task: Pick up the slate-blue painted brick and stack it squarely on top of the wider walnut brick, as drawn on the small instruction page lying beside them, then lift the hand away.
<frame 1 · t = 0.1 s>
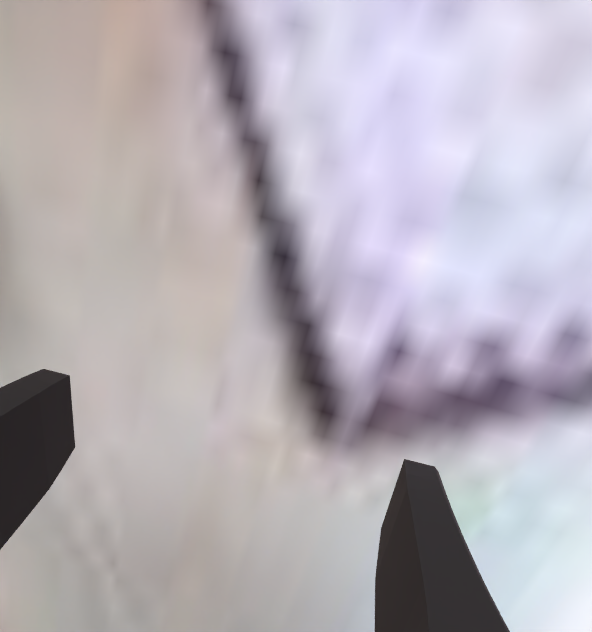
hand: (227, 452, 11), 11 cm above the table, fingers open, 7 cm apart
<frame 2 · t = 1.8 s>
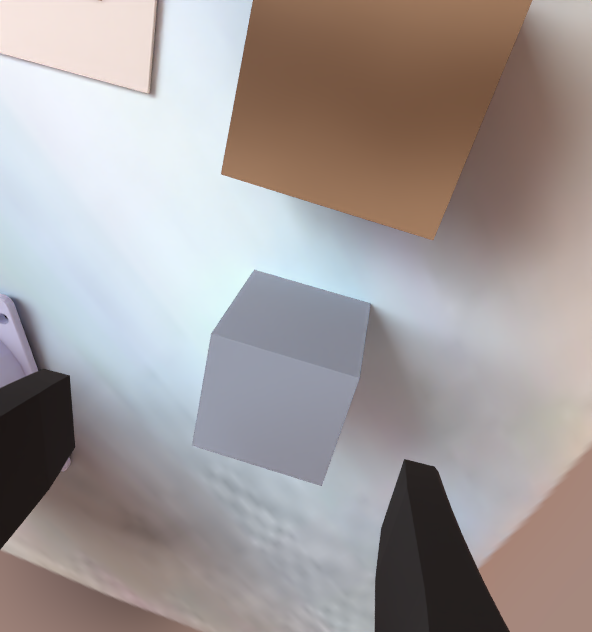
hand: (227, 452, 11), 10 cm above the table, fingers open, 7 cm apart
walnut brick: (370, 79, 16), on the table
slate brick: (298, 335, 21), on the table
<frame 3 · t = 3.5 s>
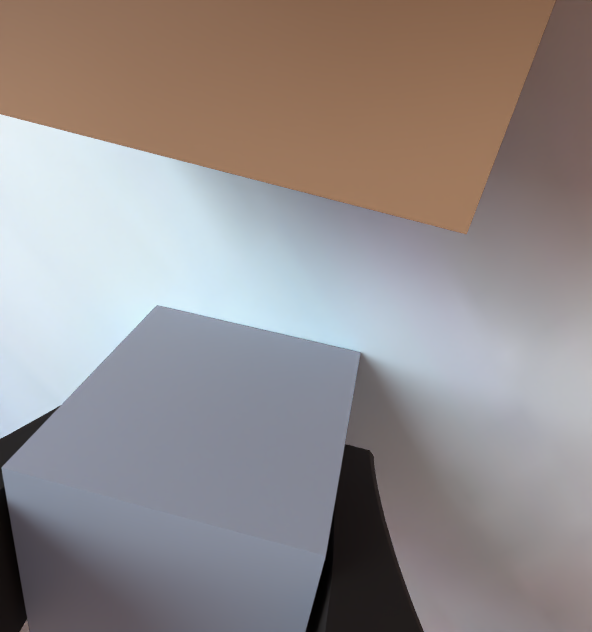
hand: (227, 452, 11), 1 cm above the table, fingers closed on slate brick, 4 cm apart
slate brick: (246, 410, 12), on the table, touching gripper
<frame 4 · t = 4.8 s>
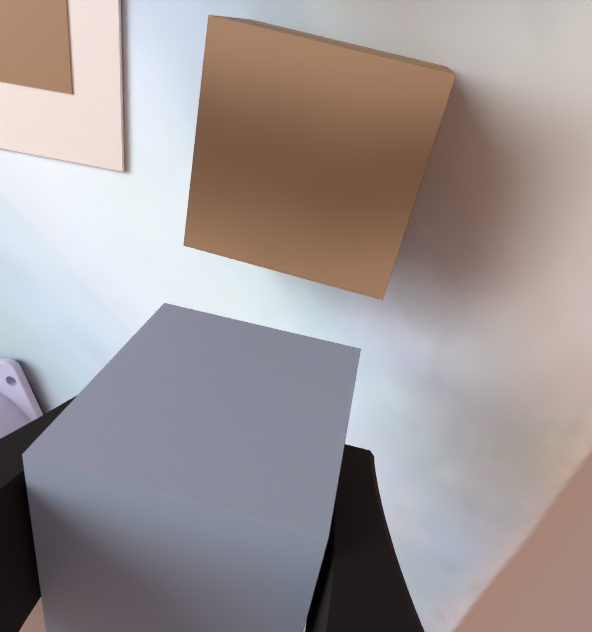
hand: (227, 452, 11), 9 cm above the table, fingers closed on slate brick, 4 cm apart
walnut brick: (325, 143, 17), on the table
slate brick: (249, 405, 13), point 8 cm above the table, touching gripper
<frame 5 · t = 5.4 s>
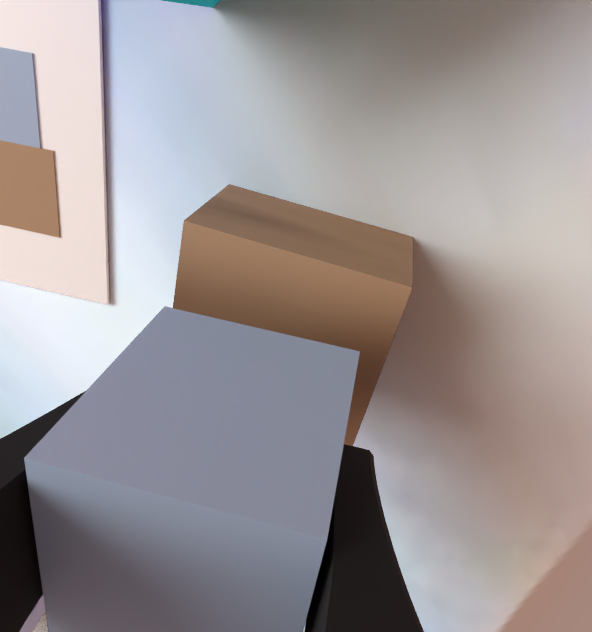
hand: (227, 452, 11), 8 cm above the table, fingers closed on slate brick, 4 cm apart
instruction page: (7, 148, 18), on the table
walnut brick: (299, 290, 18), on the table
slate brick: (250, 407, 13), point 6 cm above the table, touching gripper
when the fingers open (7 cm above the table, at t = 6.1 s): slate brick stays where it is, point 4 cm above the table.
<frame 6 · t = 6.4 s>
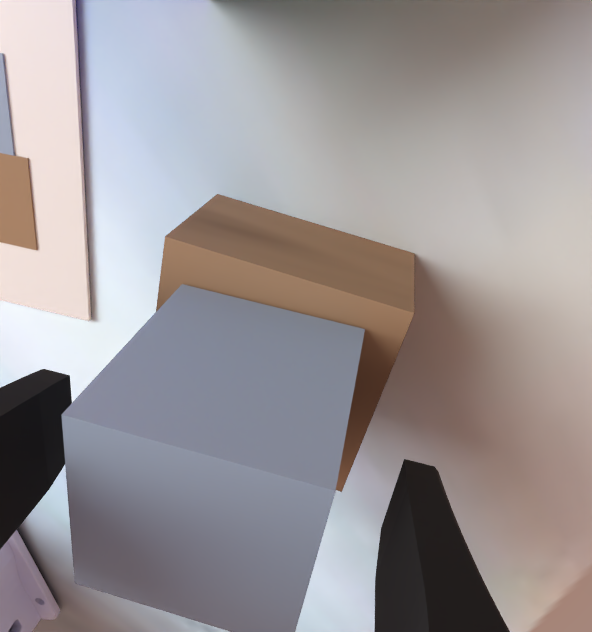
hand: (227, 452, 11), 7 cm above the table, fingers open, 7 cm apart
walnut brick: (292, 307, 17), on the table
slate brick: (259, 381, 14), point 4 cm above the table
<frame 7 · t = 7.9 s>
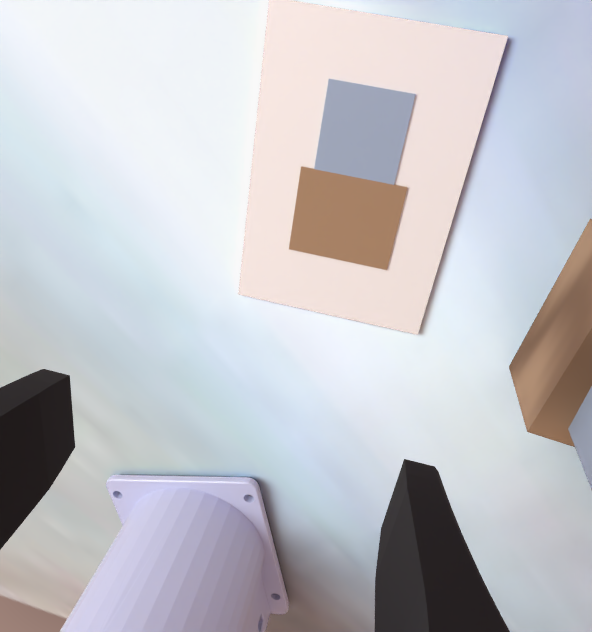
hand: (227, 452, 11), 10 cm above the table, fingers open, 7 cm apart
instruction page: (352, 184, 18), on the table
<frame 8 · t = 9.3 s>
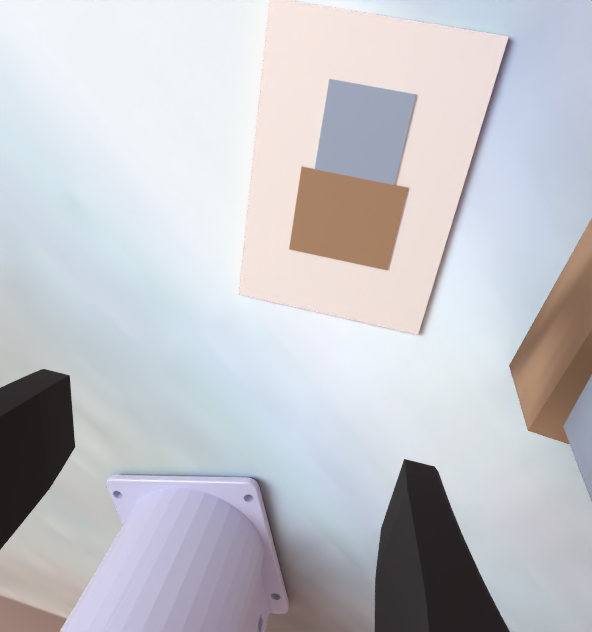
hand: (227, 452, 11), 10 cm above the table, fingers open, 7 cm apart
instruction page: (353, 184, 18), on the table
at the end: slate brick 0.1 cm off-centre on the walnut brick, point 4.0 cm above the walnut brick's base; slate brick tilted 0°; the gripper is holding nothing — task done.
